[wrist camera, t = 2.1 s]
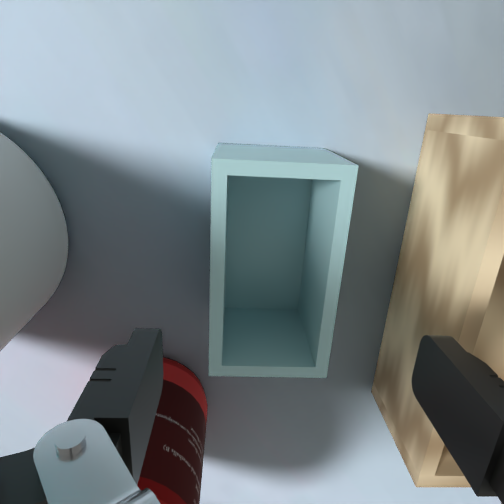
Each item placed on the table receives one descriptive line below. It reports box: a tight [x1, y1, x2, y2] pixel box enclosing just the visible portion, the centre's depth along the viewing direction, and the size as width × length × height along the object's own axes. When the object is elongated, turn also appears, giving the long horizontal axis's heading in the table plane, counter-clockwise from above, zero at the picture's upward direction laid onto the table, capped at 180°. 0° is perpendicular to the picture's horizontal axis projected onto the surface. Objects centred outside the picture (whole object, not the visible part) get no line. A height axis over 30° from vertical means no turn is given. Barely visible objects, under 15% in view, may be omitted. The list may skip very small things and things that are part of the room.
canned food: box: [137, 357, 207, 504], centre depth 21 cm, size 8×8×11 cm
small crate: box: [209, 143, 359, 378], centre depth 19 cm, size 10×6×6 cm, turn 177°
